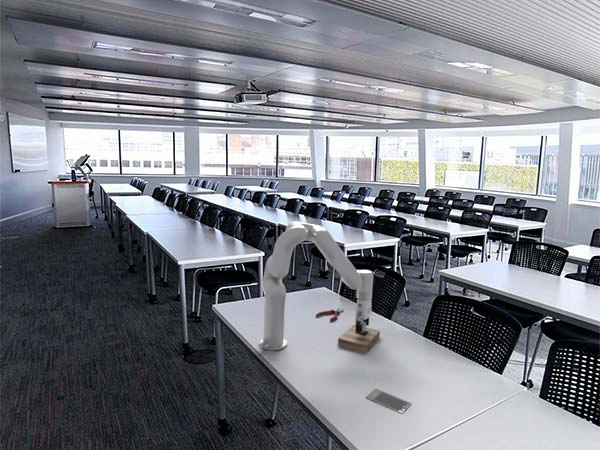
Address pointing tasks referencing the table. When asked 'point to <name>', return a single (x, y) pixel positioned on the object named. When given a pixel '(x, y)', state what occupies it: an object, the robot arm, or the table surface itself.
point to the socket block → (358, 339)
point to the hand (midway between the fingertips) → (362, 328)
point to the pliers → (330, 313)
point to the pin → (363, 328)
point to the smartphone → (388, 400)
